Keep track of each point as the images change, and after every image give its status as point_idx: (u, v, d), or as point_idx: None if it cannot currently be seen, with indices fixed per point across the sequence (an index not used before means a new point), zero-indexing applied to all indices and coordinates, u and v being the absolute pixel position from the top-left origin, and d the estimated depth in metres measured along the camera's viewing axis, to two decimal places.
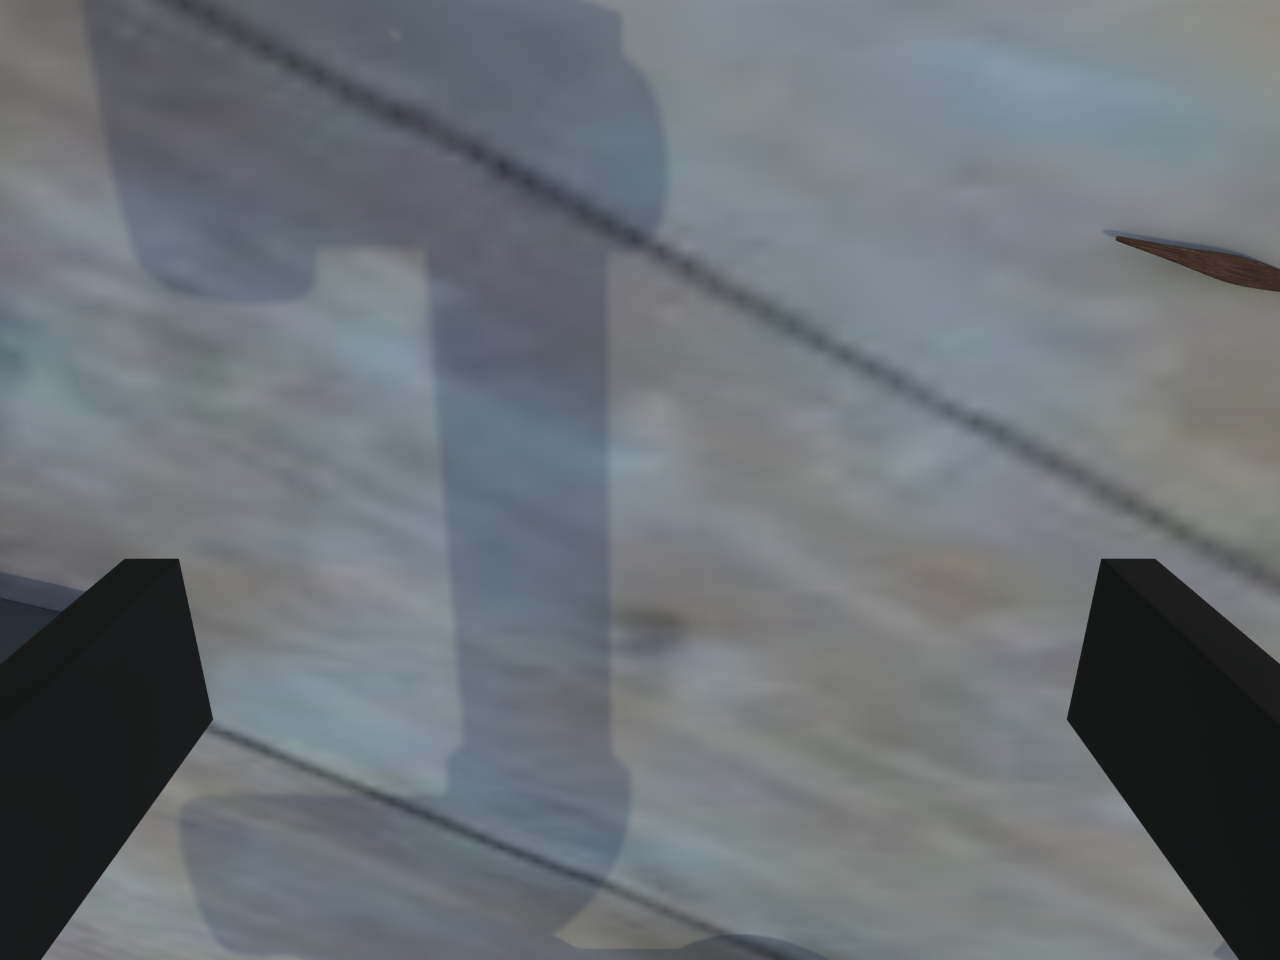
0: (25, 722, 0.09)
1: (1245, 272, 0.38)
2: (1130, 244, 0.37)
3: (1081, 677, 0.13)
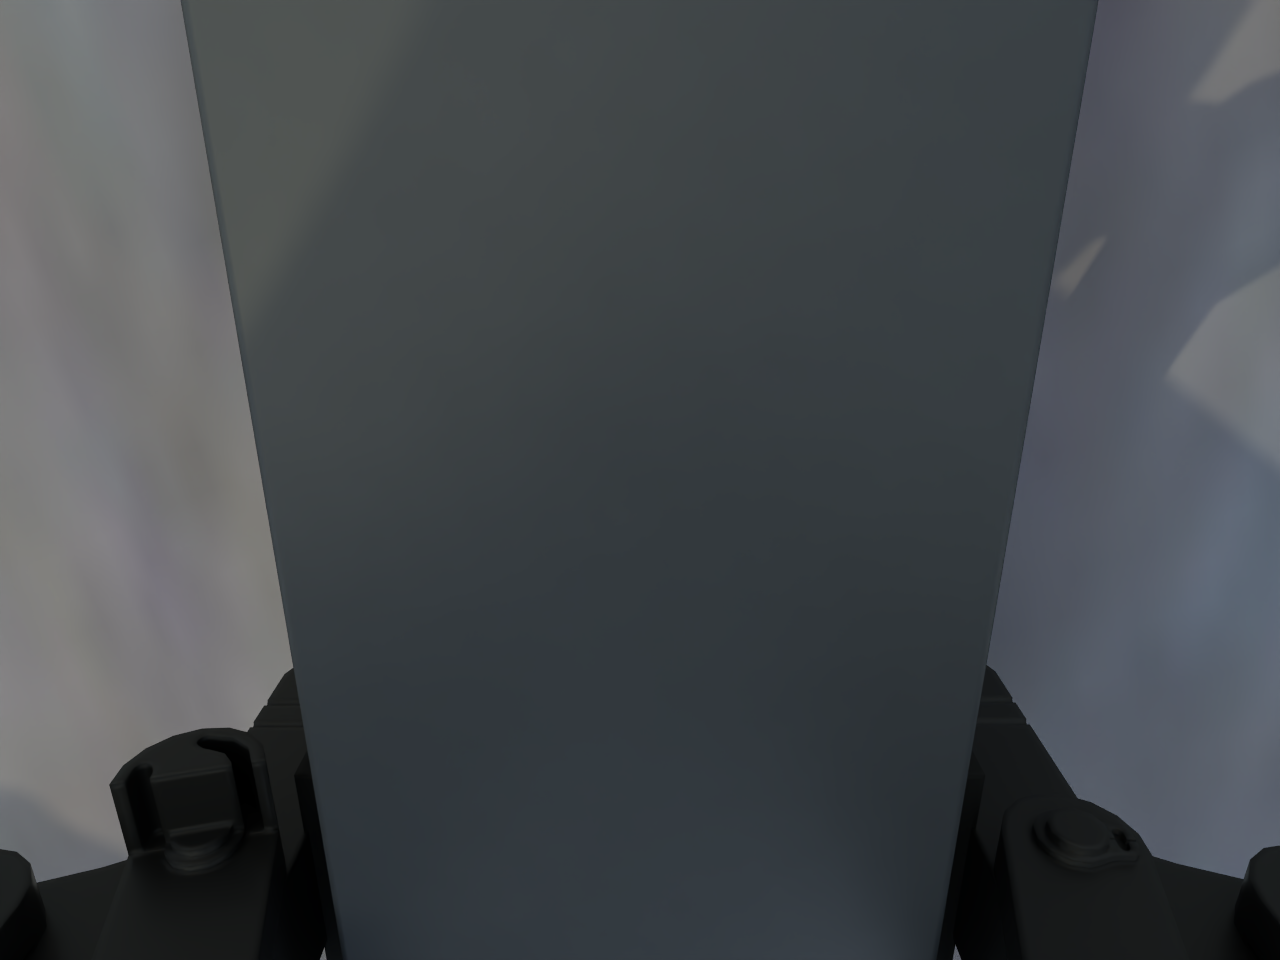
0: None
1: None
2: None
3: None
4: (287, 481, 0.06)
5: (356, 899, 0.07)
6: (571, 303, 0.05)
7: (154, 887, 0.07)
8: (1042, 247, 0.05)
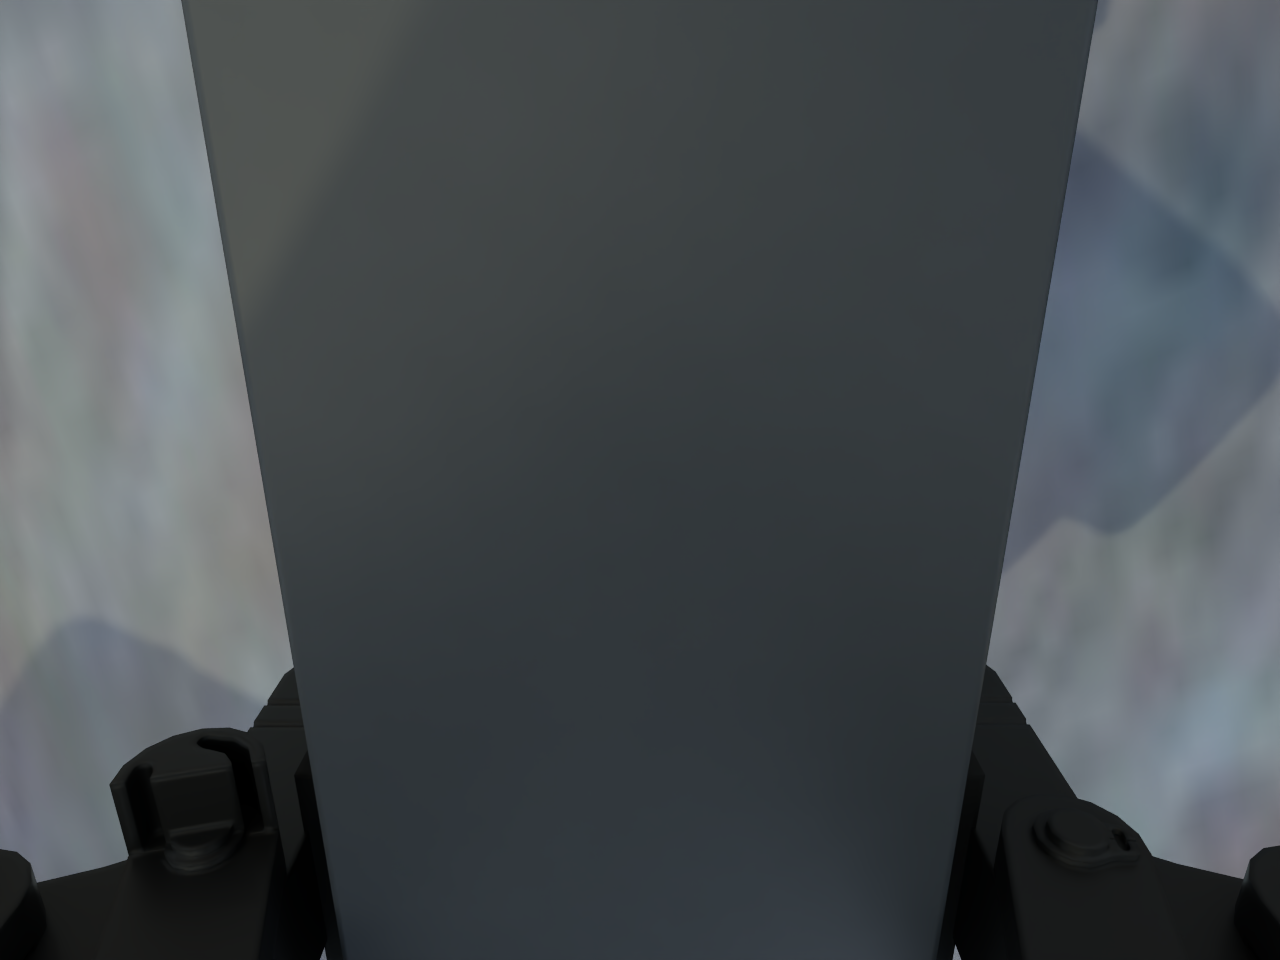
0: None
1: None
2: None
3: None
4: (287, 479, 0.06)
5: (356, 897, 0.07)
6: (571, 298, 0.05)
7: (155, 887, 0.07)
8: (1041, 244, 0.05)
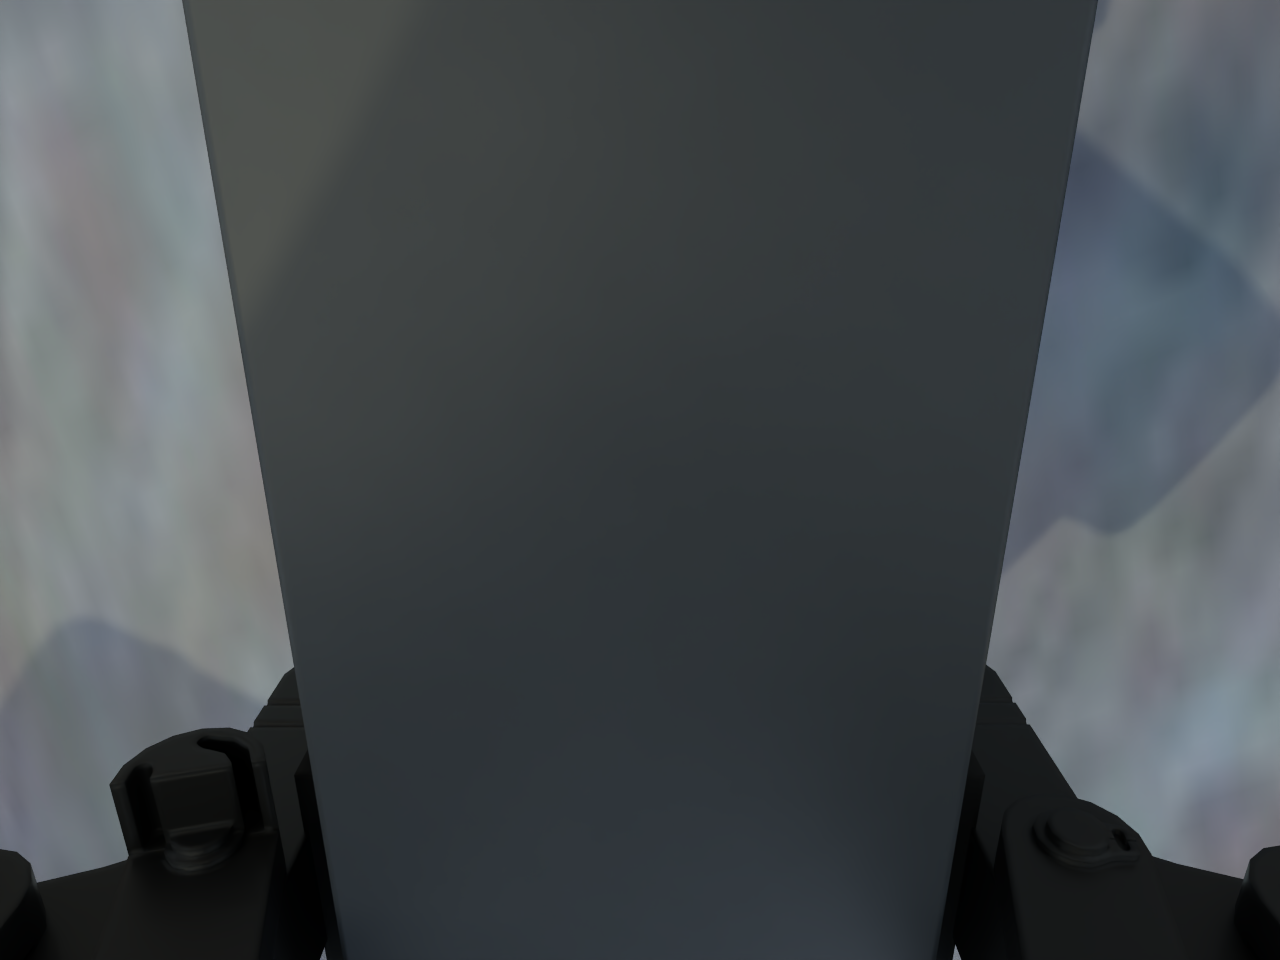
0: None
1: None
2: None
3: None
4: (288, 478, 0.06)
5: (356, 896, 0.07)
6: (571, 299, 0.05)
7: (154, 887, 0.07)
8: (1042, 244, 0.05)
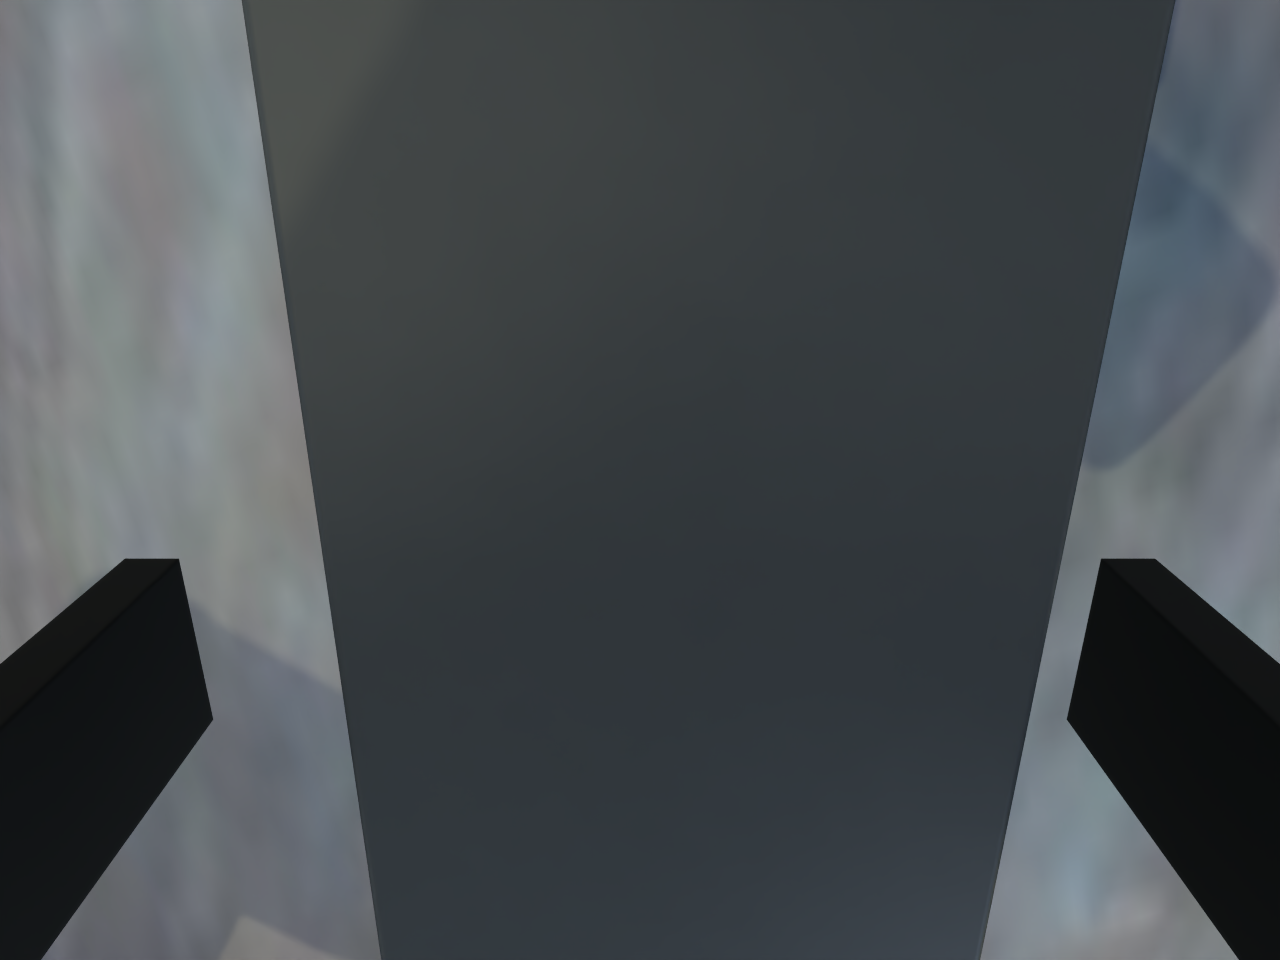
0: (25, 722, 0.09)
1: None
2: None
3: (1081, 677, 0.13)
4: (315, 320, 0.05)
5: (382, 794, 0.07)
6: (627, 113, 0.05)
7: None
8: (1149, 49, 0.05)
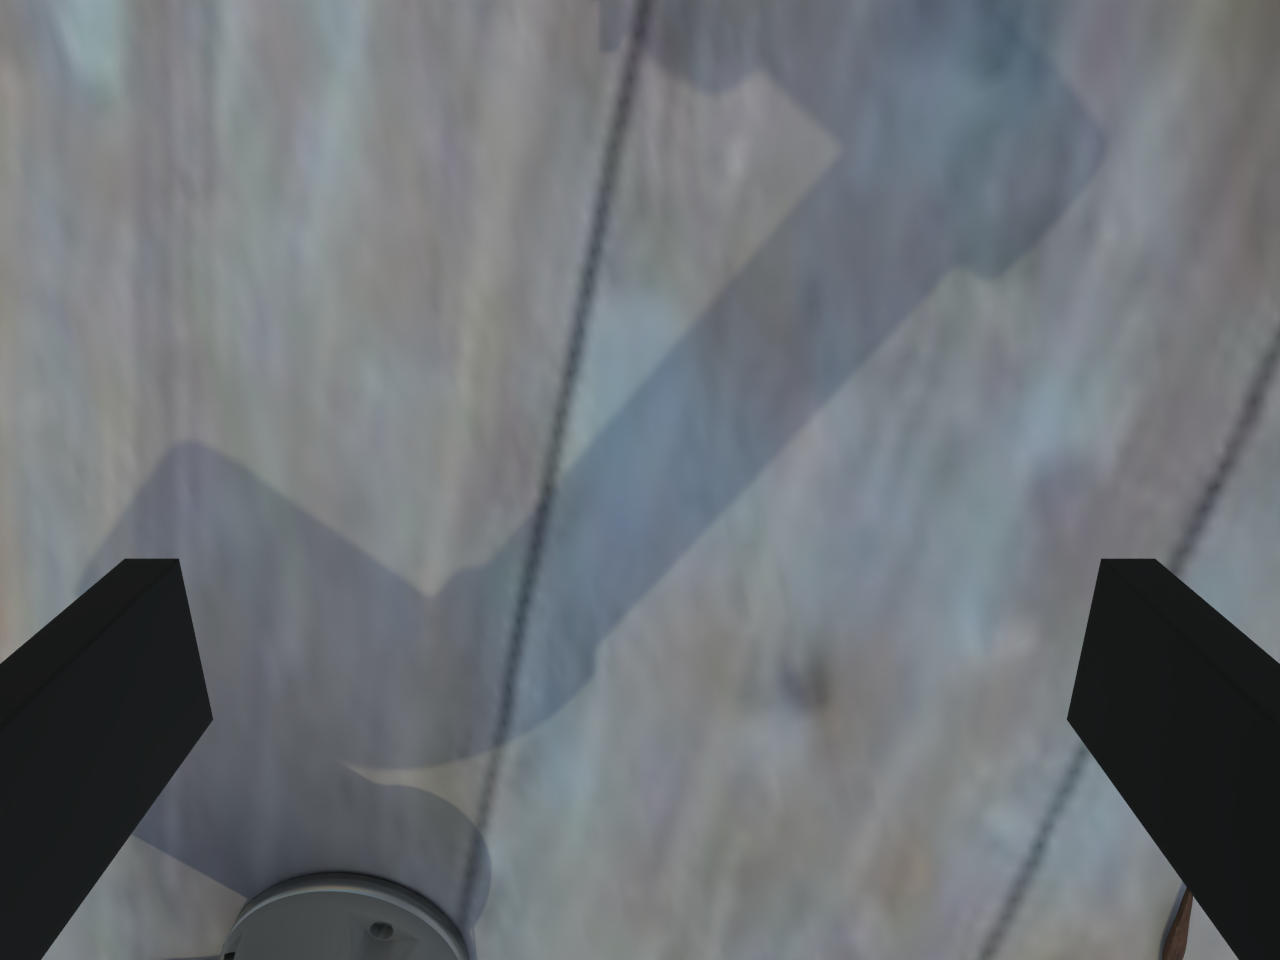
0: (25, 722, 0.09)
1: (1175, 955, 0.56)
2: (1189, 891, 0.54)
3: (1081, 677, 0.13)
4: None
5: None
6: None
7: None
8: None
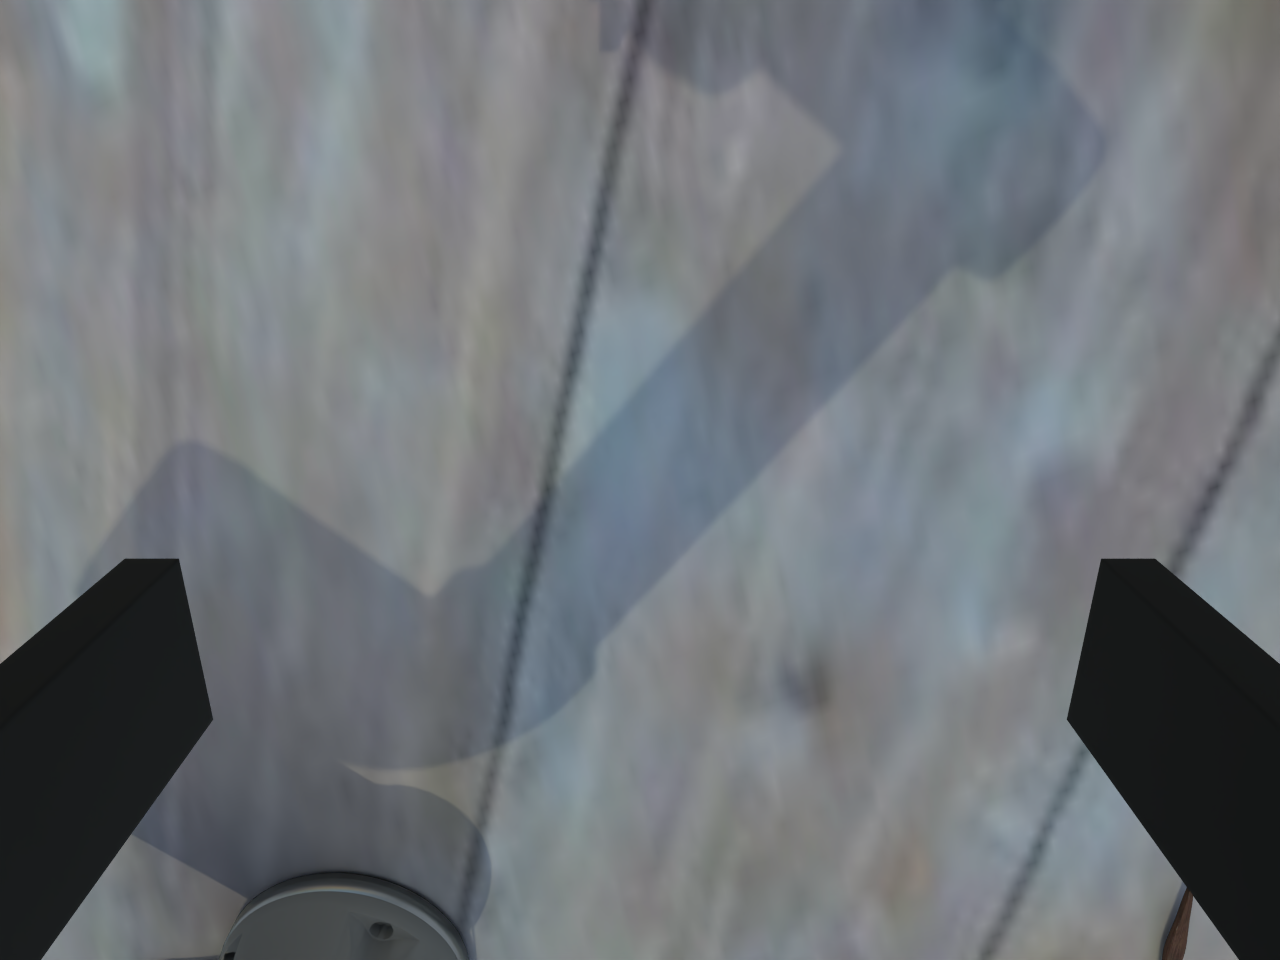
0: (25, 722, 0.09)
1: (1175, 955, 0.56)
2: (1189, 891, 0.54)
3: (1081, 677, 0.13)
4: None
5: None
6: None
7: None
8: None
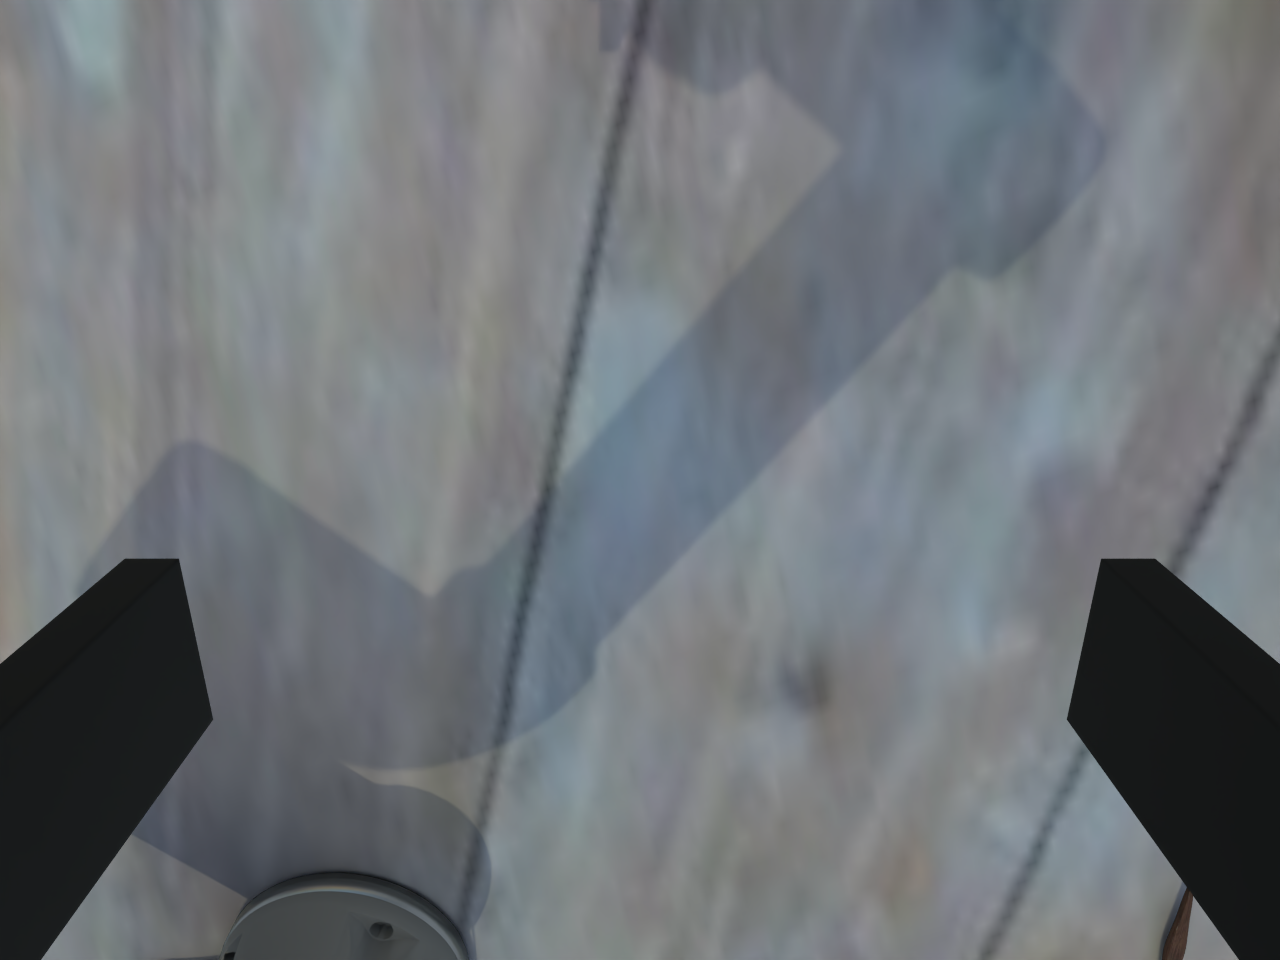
0: (25, 722, 0.09)
1: (1175, 955, 0.56)
2: (1189, 891, 0.54)
3: (1081, 677, 0.13)
4: None
5: None
6: None
7: None
8: None
